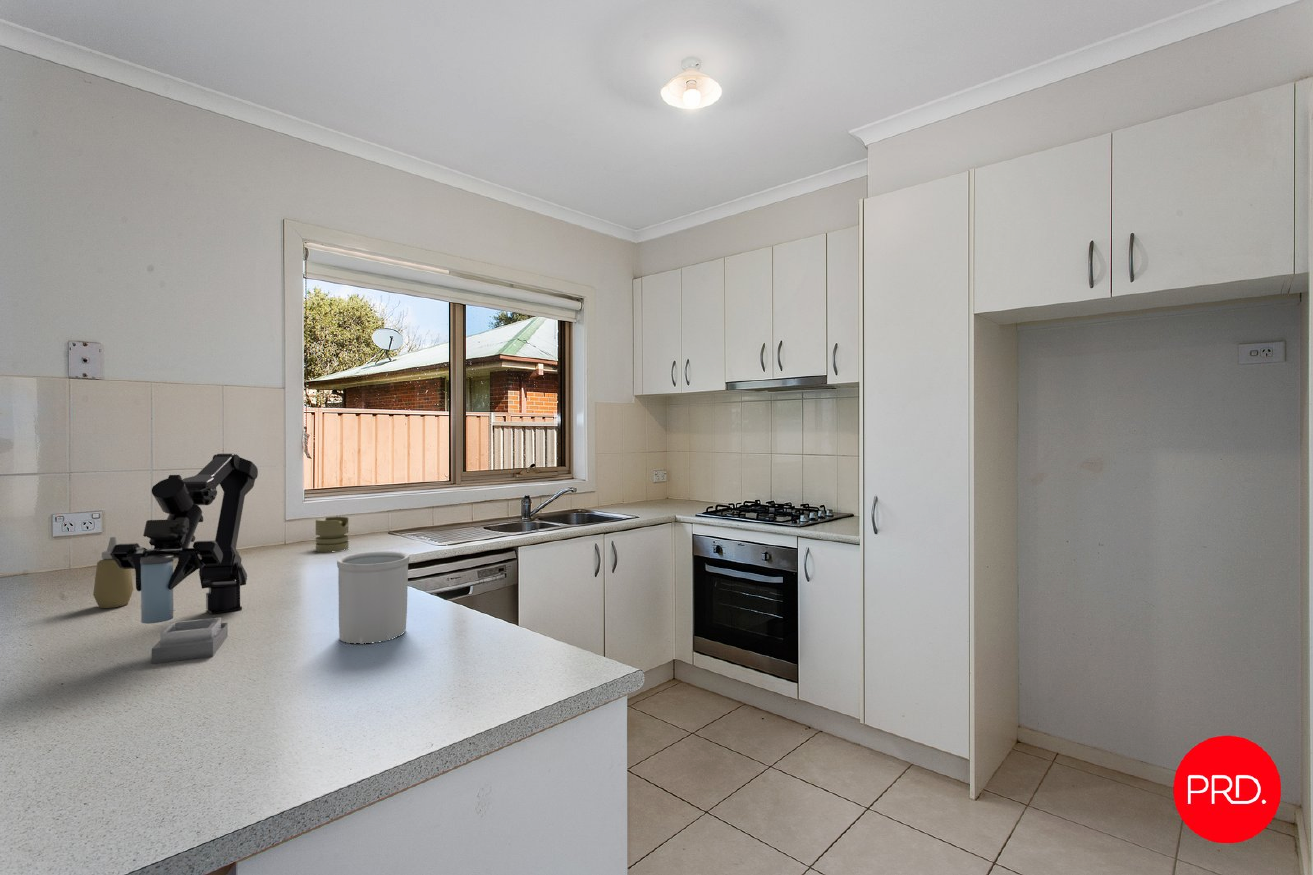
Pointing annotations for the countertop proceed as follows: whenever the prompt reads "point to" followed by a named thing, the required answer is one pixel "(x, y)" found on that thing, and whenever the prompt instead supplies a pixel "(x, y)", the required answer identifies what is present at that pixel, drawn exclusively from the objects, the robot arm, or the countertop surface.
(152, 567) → the capped blue cylinder
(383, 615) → the utensil holder
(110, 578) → the squeeze bottle
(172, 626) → the gray rectangular open-top holder
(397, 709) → the countertop surface
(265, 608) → the countertop surface
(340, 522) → the piston
